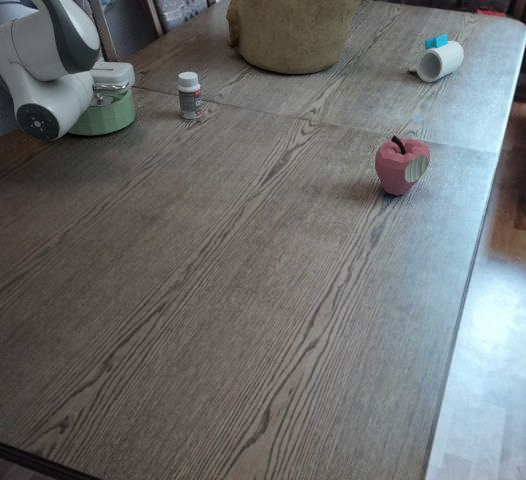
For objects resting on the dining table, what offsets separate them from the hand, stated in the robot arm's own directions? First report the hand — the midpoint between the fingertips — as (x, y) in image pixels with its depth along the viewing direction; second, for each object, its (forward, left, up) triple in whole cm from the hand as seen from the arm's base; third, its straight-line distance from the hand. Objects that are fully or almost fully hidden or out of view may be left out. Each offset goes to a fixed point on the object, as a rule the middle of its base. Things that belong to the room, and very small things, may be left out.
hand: (93, 61), depth 112 cm
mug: (+45, +68, -12) cm, 83 cm away
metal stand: (0, -1, -9) cm, 9 cm away
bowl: (0, -3, -11) cm, 12 cm away
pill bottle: (+14, +12, -12) cm, 22 cm away
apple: (+65, +11, -12) cm, 67 cm away
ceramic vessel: (+9, +56, -12) cm, 58 cm away
